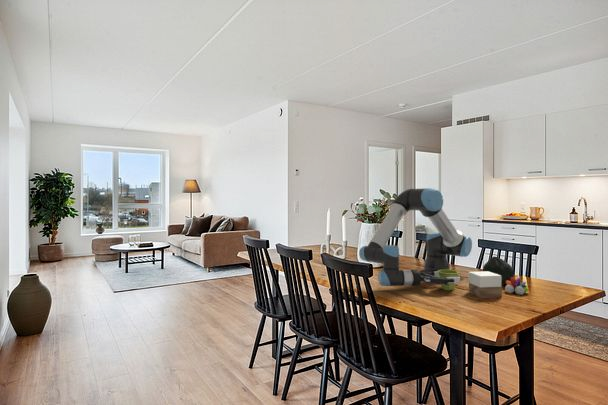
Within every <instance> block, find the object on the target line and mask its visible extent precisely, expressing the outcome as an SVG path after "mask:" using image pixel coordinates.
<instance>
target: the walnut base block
mask: <svg viewBox="0 0 608 405" xmlns="http://www.w3.org/2000/svg"><path fill="white" fill-rule="evenodd" d="M468 293H469V294H472V295H473V294H474V295H473V296H476V297H477V298H480V299H488V298H490V299H491V298H492V299H494V298H502V297H503V287H502V286H501V287H478V286H476V285H473V284H471V283H469V282H468Z"/></svg>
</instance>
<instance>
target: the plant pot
mask: <svg viewBox="0 0 608 405" xmlns="http://www.w3.org/2000/svg"><path fill="white" fill-rule="evenodd" d="M438 272H439V275H440V277H443V278H446V277H458V274H459V271H457V270H453V269H450V270H438ZM456 285H457V283H448V284H447V285H446V284H440V286H441V287H440V288H441V289H442V290H444V291H451V290H452V291H455V289H456Z"/></svg>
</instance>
